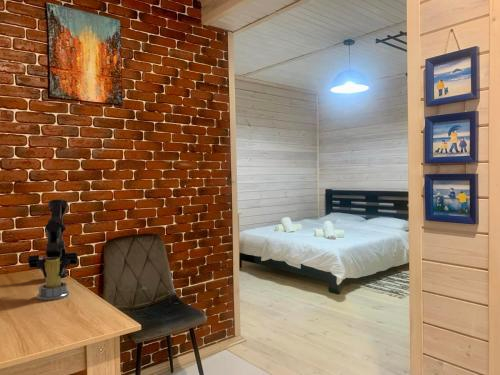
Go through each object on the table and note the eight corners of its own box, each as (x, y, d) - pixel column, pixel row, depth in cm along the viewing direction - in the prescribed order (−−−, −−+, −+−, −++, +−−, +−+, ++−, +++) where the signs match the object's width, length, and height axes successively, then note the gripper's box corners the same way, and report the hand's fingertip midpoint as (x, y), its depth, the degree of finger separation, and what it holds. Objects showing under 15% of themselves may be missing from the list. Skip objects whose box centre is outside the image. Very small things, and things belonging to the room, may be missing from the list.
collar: (53, 290, 168) (53, 280, 168) (75, 293, 164) (75, 282, 164) (29, 299, 156) (29, 288, 156) (53, 302, 153) (52, 290, 153)
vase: (41, 293, 159) (41, 259, 158) (55, 289, 165) (54, 256, 164) (51, 295, 156) (50, 261, 156) (64, 291, 162) (64, 257, 161)
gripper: (28, 236, 160) (24, 268, 150) (77, 233, 167) (77, 263, 157) (30, 251, 167) (27, 283, 157) (77, 248, 174) (77, 278, 164)
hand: (52, 276), depth 159 cm, fingers closed on vase, 5 cm apart
